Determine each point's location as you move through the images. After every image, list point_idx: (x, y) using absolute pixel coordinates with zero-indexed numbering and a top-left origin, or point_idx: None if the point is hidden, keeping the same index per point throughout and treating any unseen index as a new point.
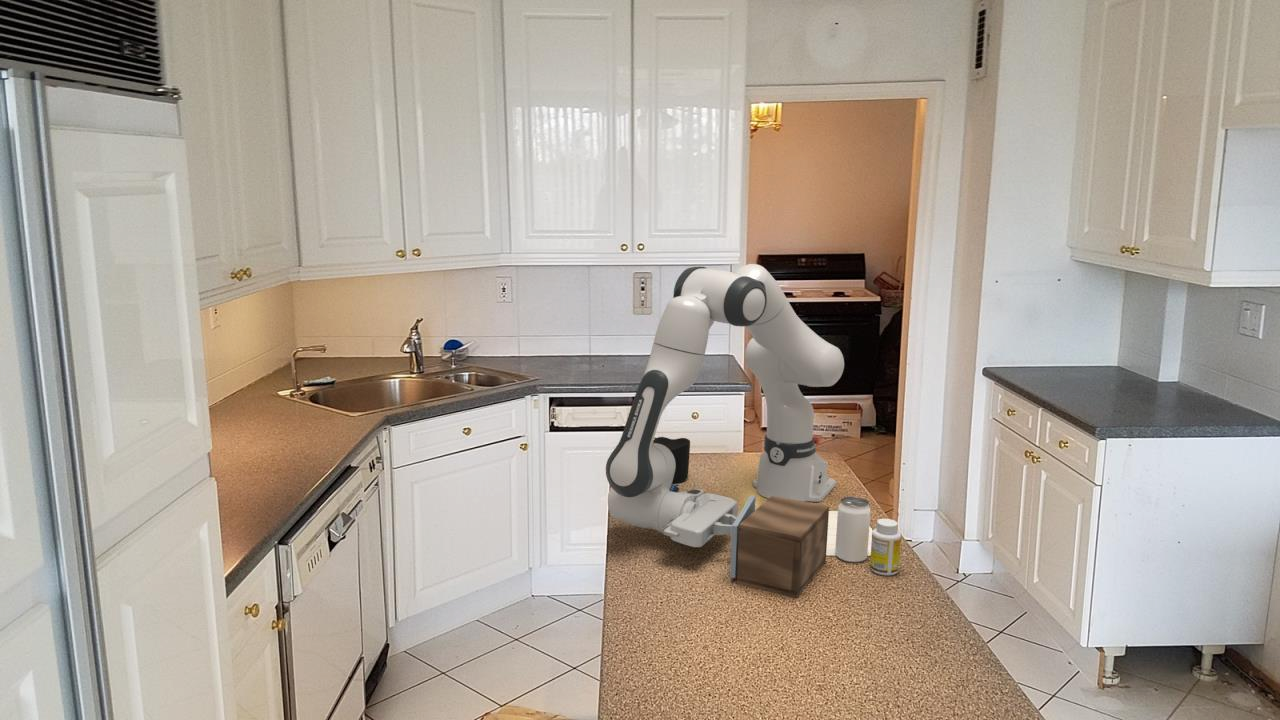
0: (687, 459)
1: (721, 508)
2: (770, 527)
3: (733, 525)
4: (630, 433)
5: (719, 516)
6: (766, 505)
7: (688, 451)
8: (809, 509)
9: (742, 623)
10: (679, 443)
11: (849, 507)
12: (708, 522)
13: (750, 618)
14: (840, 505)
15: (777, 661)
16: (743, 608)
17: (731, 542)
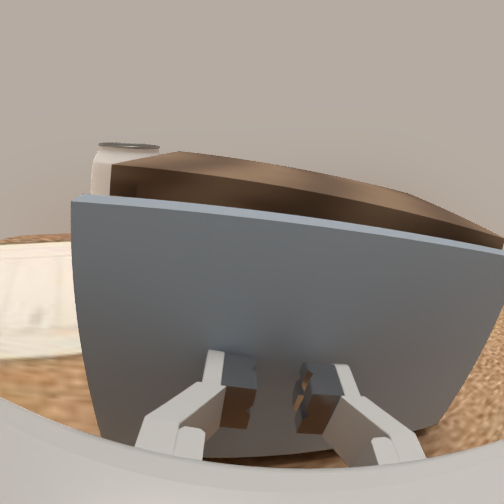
0: None
1: (95, 488)
2: (430, 206)
3: None
4: None
5: (323, 469)
6: (265, 180)
7: None
8: (225, 159)
9: (499, 357)
10: None
11: (155, 152)
12: (498, 453)
13: (482, 354)
14: (133, 157)
15: (500, 315)
16: (475, 371)
17: (495, 321)
